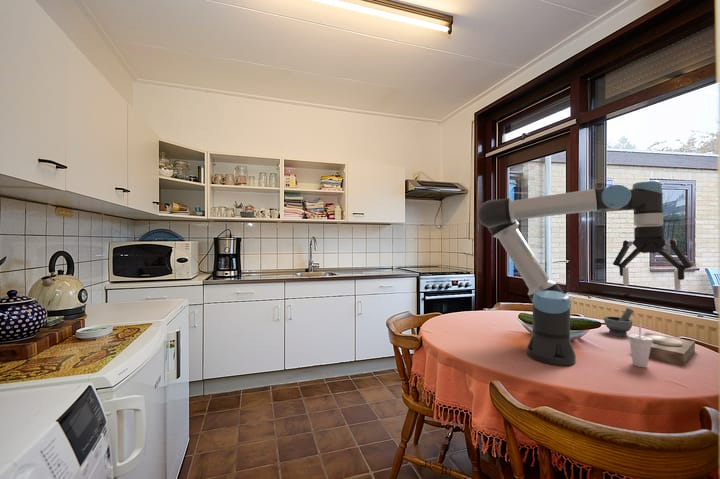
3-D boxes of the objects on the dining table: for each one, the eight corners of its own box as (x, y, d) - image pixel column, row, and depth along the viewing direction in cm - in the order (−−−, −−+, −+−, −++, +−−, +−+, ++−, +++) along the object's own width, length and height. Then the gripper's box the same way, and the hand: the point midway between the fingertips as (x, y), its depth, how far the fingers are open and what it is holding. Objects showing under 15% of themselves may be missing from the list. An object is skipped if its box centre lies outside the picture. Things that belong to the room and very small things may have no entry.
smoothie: (650, 364, 109) (650, 323, 108) (654, 370, 103) (655, 328, 103) (626, 360, 112) (626, 320, 112) (629, 366, 107) (630, 325, 106)
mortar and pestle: (613, 337, 138) (614, 309, 138) (599, 330, 147) (599, 305, 147) (641, 338, 137) (641, 310, 137) (624, 331, 146) (625, 305, 146)
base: (631, 353, 119) (631, 340, 119) (646, 341, 132) (646, 330, 132) (683, 365, 107) (684, 350, 107) (694, 351, 120) (694, 338, 120)
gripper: (703, 224, 100) (706, 290, 100) (610, 228, 121) (611, 282, 121) (696, 223, 96) (699, 292, 96) (601, 228, 118) (603, 284, 117)
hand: (650, 287), depth 109 cm, fingers open, 13 cm apart
